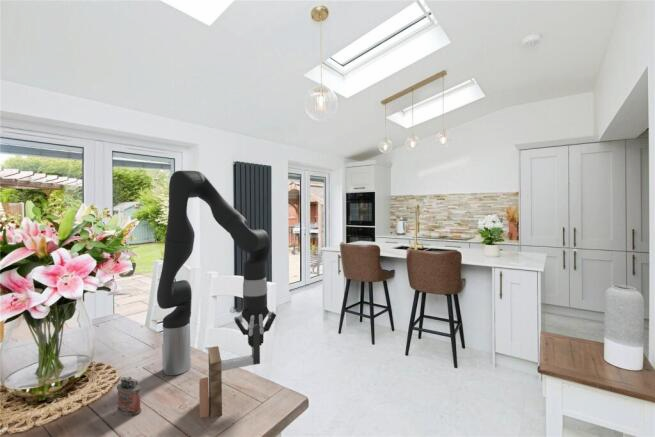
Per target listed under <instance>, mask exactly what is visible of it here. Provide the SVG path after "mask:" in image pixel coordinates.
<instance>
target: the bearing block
mask: <svg viewBox="0 0 655 437" xmlns="http://www.w3.org/2000/svg"><path fill="white" fill-rule="evenodd" d="M207 350H208V389H209V411H210V417H211V419H212V418H216V417H221V416H222V415H223V388H222V386H223V385H222V384H223V383H222V382H223V381H222V380H223V379H222V375H223V374H222V372H223V371H221V361H222V359H221V353H220V347H219V346H211V347H208V349H207Z"/></svg>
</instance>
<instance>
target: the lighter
mask: <svg viewBox="0 0 655 437" xmlns="http://www.w3.org/2000/svg"><path fill="white" fill-rule="evenodd" d="M138 384H139V381H138V379H136V378H132V376H127V377H126V376H123V377H121V378H120V383H118V384H117V385H116V390H117V412H118V413H119V414H122V415H125V416H129V417H137V416H139V415H140V414H141V412H142V408H141V389H142V388H141V385H138Z"/></svg>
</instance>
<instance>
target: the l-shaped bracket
mask: <svg viewBox="0 0 655 437" xmlns="http://www.w3.org/2000/svg"><path fill="white" fill-rule="evenodd" d="M252 335H253V347H251V354H249V355H245V356H239V357H233V358H229V359H223V360H221V371H222V372H224V371H229V370H234V369H238V368H244V367H248V366H255V365H260V364H261V346H260V327H259V325H258V324H254V326H253V334H252Z"/></svg>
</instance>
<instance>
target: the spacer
mask: <svg viewBox="0 0 655 437" xmlns="http://www.w3.org/2000/svg"><path fill="white" fill-rule="evenodd" d="M198 380H199V383H198V384H199V386H198V391H199V392H198V396H199V397H198V400H199V419H201V418H205V417H208V416H210V400H209V376H207V377H203V378H199V379H198Z"/></svg>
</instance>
